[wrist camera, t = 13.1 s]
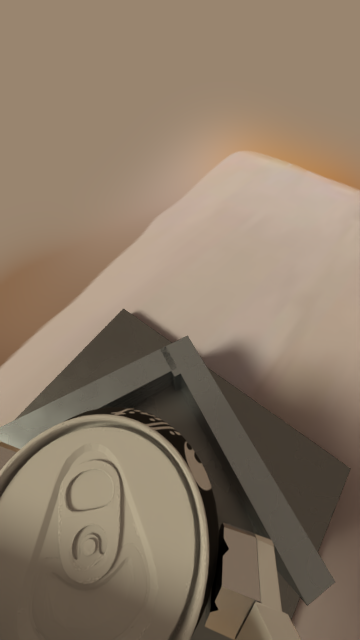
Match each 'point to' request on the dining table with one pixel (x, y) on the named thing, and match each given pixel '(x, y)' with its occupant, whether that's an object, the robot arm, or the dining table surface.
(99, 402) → the v block
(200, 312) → the dining table surface
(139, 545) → the beverage can
